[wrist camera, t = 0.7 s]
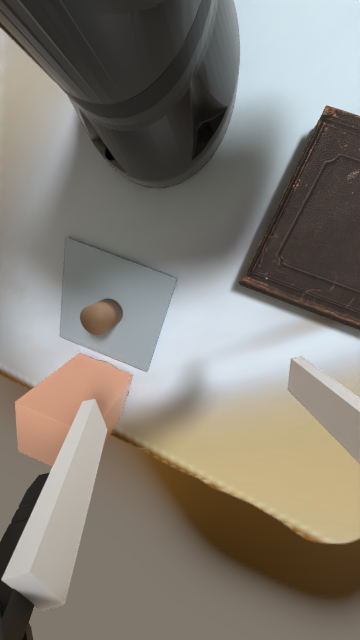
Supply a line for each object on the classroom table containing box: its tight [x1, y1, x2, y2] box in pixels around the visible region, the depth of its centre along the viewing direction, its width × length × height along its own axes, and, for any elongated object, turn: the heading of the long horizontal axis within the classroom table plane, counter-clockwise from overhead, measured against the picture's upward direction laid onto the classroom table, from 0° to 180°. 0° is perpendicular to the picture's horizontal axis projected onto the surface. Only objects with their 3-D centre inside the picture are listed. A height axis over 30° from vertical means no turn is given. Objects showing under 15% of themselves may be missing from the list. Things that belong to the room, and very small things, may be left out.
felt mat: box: [60, 238, 178, 372], centre depth 28 cm, size 16×16×1 cm
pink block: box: [15, 353, 133, 467], centre depth 28 cm, size 10×10×11 cm
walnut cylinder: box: [80, 298, 123, 335], centre depth 26 cm, size 4×4×4 cm
